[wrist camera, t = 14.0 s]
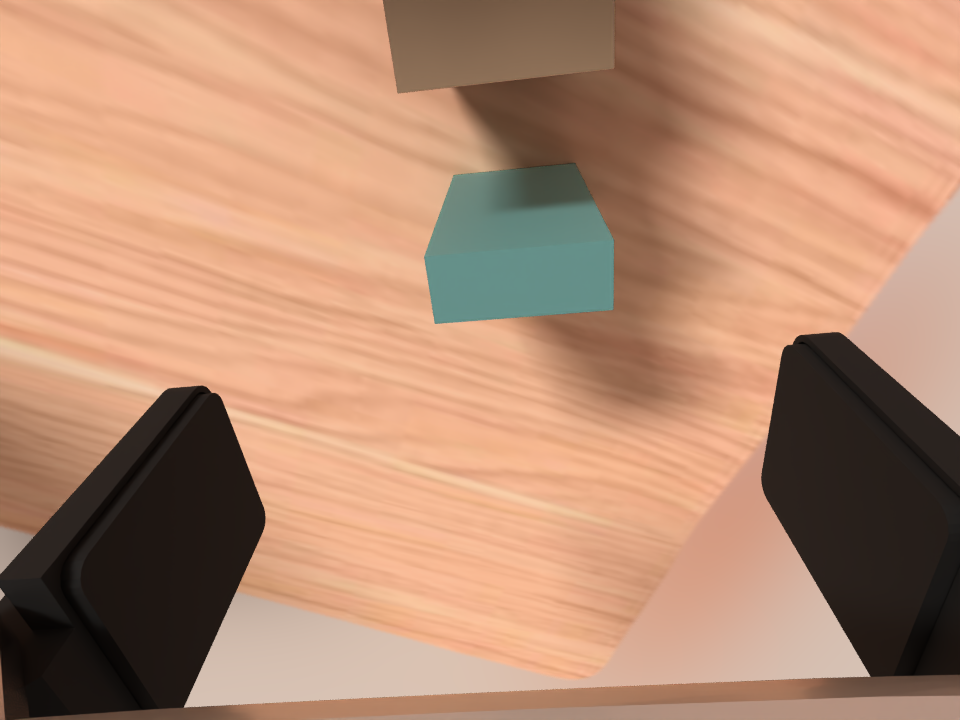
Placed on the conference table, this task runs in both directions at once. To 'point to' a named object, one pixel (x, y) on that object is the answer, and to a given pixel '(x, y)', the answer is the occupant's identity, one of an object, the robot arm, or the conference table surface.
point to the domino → (496, 40)
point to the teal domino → (519, 247)
